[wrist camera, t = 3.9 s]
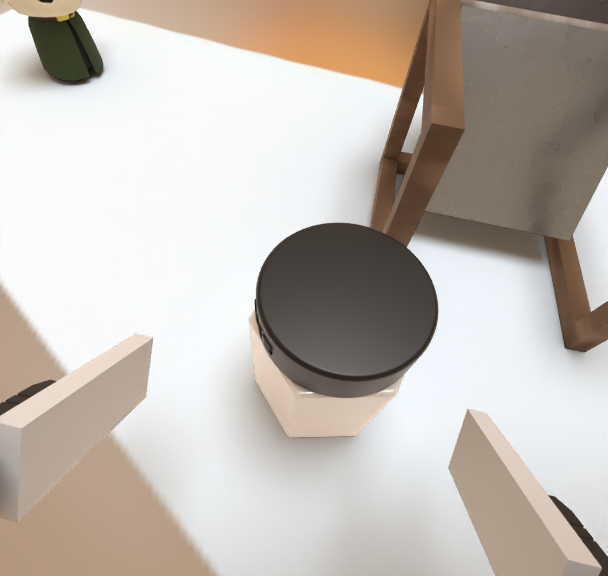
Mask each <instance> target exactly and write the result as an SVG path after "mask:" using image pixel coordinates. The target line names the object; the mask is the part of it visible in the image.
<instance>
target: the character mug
mask: <svg viewBox="0 0 608 576" xmlns="http://www.w3.org/2000/svg"><path fill="white" fill-rule="evenodd" d="M81 2H82V0H0V5H1V4H4V3H8V4H9V5H10V7H11V8H12V9H14V10H15V11H17V12H18V13H20V14H24V15H27V16H29V17H28V21H29V28H30V31H31V34H32V37H33V40H34V43H35V46H36V49H37V52H38V54H39V57H40V59H41V62H42V65H43V67H44V69H45V70H46V71H47V72H48V73H49V74H50V75H52V76H54V77H57V78H59V79H61V80H74V81H76V80H80V79H85V78H88V77H90V75H89V73H88V70H87V68H88V67H89V66H90V65H93V67H94V70H95V72H96V73H98V72H99V71H100V70H101V69H102V67H103V61H102V58H101V56H100V54H99V52H98V49H97V47H96V45H95V43H94V41H93V39H92V37H91V35H90V33H89V31H88V29H87V27H86V25H85V23H84V21H83V19H82V17H81V16H80V15H79V14H78V12H77V11H76V10H77V9H78V8H79V7H80V5H81Z"/></svg>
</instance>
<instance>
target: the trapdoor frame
mask: <svg viewBox="0 0 608 576" xmlns="http://www.w3.org/2000/svg"><path fill="white" fill-rule="evenodd" d="M462 6H468V7H473V8H479V9H484V10H490V11H496V12H501V13H507V14H512V15H518V16H523V17H529V18H534V19H540V20H545V21H551V22H556V23H562V24H567V25H573V26H578V27H584V28H589V29H595V30H600V31H606V32H608V24H603V23H597V22H592V21H586V20H581V19H575V18H570V17H564V16H559V15H553V14H548V13H542V12H536V11H531V10H525V9H520V8H514V7H509V6H503V5H498V4H492V3H487V2H481V1H476V0H430V1H429V4H428V8H427V11H426V14H425V17H424V21H423V24H422V27H421V30H420V34H419V37H418V40H417V43H416V47H415V50H414V53H413V56H412V60H411V63H410V66H409V70H408V73H407V76H406V80H405V83H404V86H403V89H402V92H401V96H400V99H399V102H398V106H397V109H396V112H395V115H394V119H393V122H392V125H391V128H390V132H389V135H388V138H387V142H386V145H385V148H384V151H383V155H382V158H381V162H380V169H379V175H378V182H377V188H376V195H375V201H374V208H373V214H372V221H371V227H370V228H372V229H375V230H378V231H380V232H382V233H384V234H387V235H389V236H390V237H392V238H394V239H395V240H397V241H398V242H400V243H401V244H403V245H404V246H405V247H406V248H407V245H408V243H409V241H410V239H411V237H412V235H413V233H414V231H415V229H416V227H417V225H418V223H419V221H420V219H421V217H422V215H423V213H424V211H425V209H426V207H427V205H428V203H429V201H430V199H431V197H432V195H433V193H434V191H435V189H436V187H437V185H438V183H439V181H440V179H441V177H442V175H443V173H444V171H445V169H446V167H447V165H448V163H449V161H450V159H451V157H452V155H453V153H454V151H455V149H456V147H457V145H458V143H459V141H460V139H461V137H462V135H463V133H464V131H465V116H464V91H463V65H462V40H461V15H460V11H461V8H462ZM423 87H424V99H423V114H422V129H421V135H420V137H419V140H418V142H417V145H416V147H415V150H414V153H413V154H410V153H405V152H401V150H402V147H403V144H404V141H405V138H406V136H407V133H408V130H409V127H410V124H411V121H412V119H413V116H414V113H415V110H416V107H417V104H418V102H419V99H420V96H421V93H422V90H423ZM396 173H399V174H404V175H405V176H404V178H403V181H402V184H401V186H400V189H399V191H398V194H397V196H396V199H395V202H394V204H393V197H394V189H395V180H396ZM392 206H393V207H392ZM545 241H546V247H547V252H548V257H549V263H550V268H551V274H552V279H553V285H554V290H555V295H556V301H557V306H558V312H559V317H560V322H561V328H562V333H563V339H564V344H565V348H568V349H572V350H577V351H581V352H586V351H588V350H590V349H591V348H593V347H595V346H597V345H599V344H601V343H602V342H604V341H606V340H608V301H607V302H606V303H604V304H603V305H601V306H600V307H598V308H597V309H595V310H594V311H592V312H591V310H590V306H589V302H588V298H587V293H586V289H585V285H584V281H583V277H582V272H581V268H580V264H579V260H578V256H577V252H576V247H575V243H574V239H573V235H572V236H571V238H570V240H569V241H568V240H563V239H559V238H554V237H549V236H545Z"/></svg>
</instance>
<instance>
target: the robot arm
mask: <svg viewBox="0 0 608 576" xmlns="http://www.w3.org/2000/svg"><path fill="white" fill-rule="evenodd" d="M152 343H153V337H148V336H144V335H139V334H134V335H132V336H131V337H129V338H127V339H126V340H124V341H122V342H121V343H119V344H118V345H116V346H114V347H113V348H111V349H109V350H108V351H106V352H104V353H103V354H101V355H99V356H98V357H96V358H94V359H93V360H91V361H90V362H88V363H86V364H85V365H83V366H81V367H80V368H78V369H76V370H75V371H73V372H71V373H70V374H68V375H67V376H65V377H63V378H62V379H60V380H58V381H53V380H48V381H45V382H41V383H38V384H35V385H32V386H30V387H28V388H27V389H25V390H23V391H21V392H20V393H18V395H14V396H13V397H11V398H9V399H7V400H6V402H2V403H1V404H0V518H2V519H6V520H11V521H14V522H18V521H19V520H20V519H21V518H22V517H23V516H24V515H25V514H26V513H27V512H28V511H29V510H31V509H32V508H33V507H34V506H35V505H36V504H37V503H38V502H39V501H40V500H41V499H42V498H43V497H44V496H45V495H46V494H47V493H48V492H49V491H50V490H51V489H52V488H53V487H54V486H55V485H56V484H57V483H58V482H59V481H60V480H61V479H62V478H63V477H64V476H65V475H66V474H67V473H68V472H69V471H70V470H72V468H73V467H74V466H76V465H77V464H78V463H79V462H80V461H81V460H82V459H83V458H84V457H85V456H86V455H87V454H88V453H89V452H90V451H91V450H92V449H93V448H94V447H95V446H96V445H97V444H98V443H99V442H100V441H101V440H102V439H103V438H104V437H105V436H106V435H107V434H108V433H110V432H111V431H112V430H113V429H114V428H115V427H116V426H117V425H118V424H119V423H120V422H121V421H122V420H123V419H124V418H125V417H126V416H127V415H128V414H129V413H130V412H131V411H132V410H133V409H134V408H135V407H136V406H137V405H138V404H139V403H140V402H141V401H142V400H143V399H144V398H145V397H146V392H147V384H148V376H149V367H150V359H151V351H152ZM448 468H449V470H450V473H451V475H452V477H453V480H454V482H455V484H456V486H457V489H458V491H459V493H460V496H461V498H462V500H463V502H464V505H465V507H466V509H467V512H468V514H469V516H470V518H471V521H472V523H473V525H474V528H475V530H476V532H477V534H478V537H479V539H480V541H481V544H482V546H483V548H484V550H485V553H486V555H487V557H488V560H489V562H490V564H491V566H492V569H493V571H494V573H495V576H608V557H607V555H606V554H605V553H604V552H603V550H602V549H601V548H600V546H599V545H598V544H597V543H596V542H595V541H593V538H592V536H591V535H590V534H589V532H588V531H587V530H586V529H584V528H583V525H582V524H581V522H580V521H579V520H578V518H577V517H576V516H575V515H574V513H573V512H572V511H571V510H570V509H569V508H568V507H566V506H565V505H564V504H563V503H562V502H561V501H559V500H558V499H557V498H556V497H554V496H550V495H547V493H546V492H545V491H544V489H543V488H542V487H541V485H540V484H539V483H538V481H537V480H536V479H535V477H534V476H533V475H532V473H531V472H530V471H529V469H528V468H527V467H526V465H525V464H524V463H523V461H522V460H521V459H520V457H519V456H518V455H517V453H516V452H515V450H514V449H513V448H512V446H511V445H510V444H509V442H508V441H507V440H506V438H505V437H504V436H503V434H502V433H501V432H500V430H499V429H498V428H497V426H496V425H495V424H494V422H493V421H492V420H491V418H490V417H489V416H488V414H487V413H483V412H479V411H475V410H470V409H467V412H466V415H465V418H464V421H463V425H462V428H461V431H460V434H459V437H458V440H457V443H456V446H455V449H454V452H453V455H452V458H451V461H450V464H449V467H448Z"/></svg>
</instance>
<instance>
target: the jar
mask: <svg viewBox="0 0 608 576" xmlns="http://www.w3.org/2000/svg"><path fill="white" fill-rule="evenodd" d="M437 320H438V300H437V295H436V291H435V288H434V285H433V283H432V280H431V278H430V276H429V274H428V272H427V271H426V269H425V268H424V266H423V265H422V263H421V262H420V261H419V259H418V258H417V257H416V256H415V255H414V254H413V253H412V252H411V251H410V250H409V249H408V248H406V247H405V246H404V245H403V244H401V243H400V242H398V241H397V240H395V239H394V238H392V237H390V236H389V235H387V234H384V233H382V232H380V231H378V230H375V229H372V228H369V227H366V226H362V225H357V224H350V223H326V224H319V225H315V226H311V227H308V228H305V229H302V230H300V231H298V232H296V233H294V234H292V235H290V236H289V237H287V238H286V239H284V240H283V241H282V242H280V243H279V244H278V245H277V246H276V247H275V248H274V249H273V250H272V252H271V253H270V254H269V255H268V257H267V258H266V260H265V262H264V264H263V266H262V268H261V270H260V273H259V276H258V280H257V286H256V299H255V310H254V311H253V312H252V314H251V315H250V317H249V328H250V337H251V346H252V356H253V365H254V375H255V381H256V383H257V384H258V386H259V388H260V390H261V391H262V393H263V395H264V397H265V398H266V400H267V402H268V404H269V405H270V407H271V409H272V411H273V412H274V414H275V416H276V418H277V419H278V421H279V423H280V425H281V426H282V428H283V430H284V432H285V433H286V435H287V436H288V437H290V438H295V437H328V436H356V435H357V434H358V433H359V432H360V431H361V430H362V429H363V428H364V427H365V426H366V425H367V424H368V423H369V422H370V421H371V420H372V419H373V418H374V417H375V416H376V415H377V414H378V413H379V412H380V411H381V410H382V409H383V408H384V407H385V406H386V405H387V404H388V403H389V402H390V401H391V400H392V399H393V398H394V397H395V396H396V395H397V393H398V390H399V388H400V385H401V383H402V380H403V377H404V375H405V373H406V372H407V371H408V369H409V368H410V367H411V366H412V365H413V364H414V363H415V362H416V361H417V359H418V358H419V357H420V356H421V355H422V354H423V353H424V351H425V350H426V349H427V347H428V345H429V344H430V342H431V340H432V338H433V335H434V333H435V329H436V326H437Z"/></svg>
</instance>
